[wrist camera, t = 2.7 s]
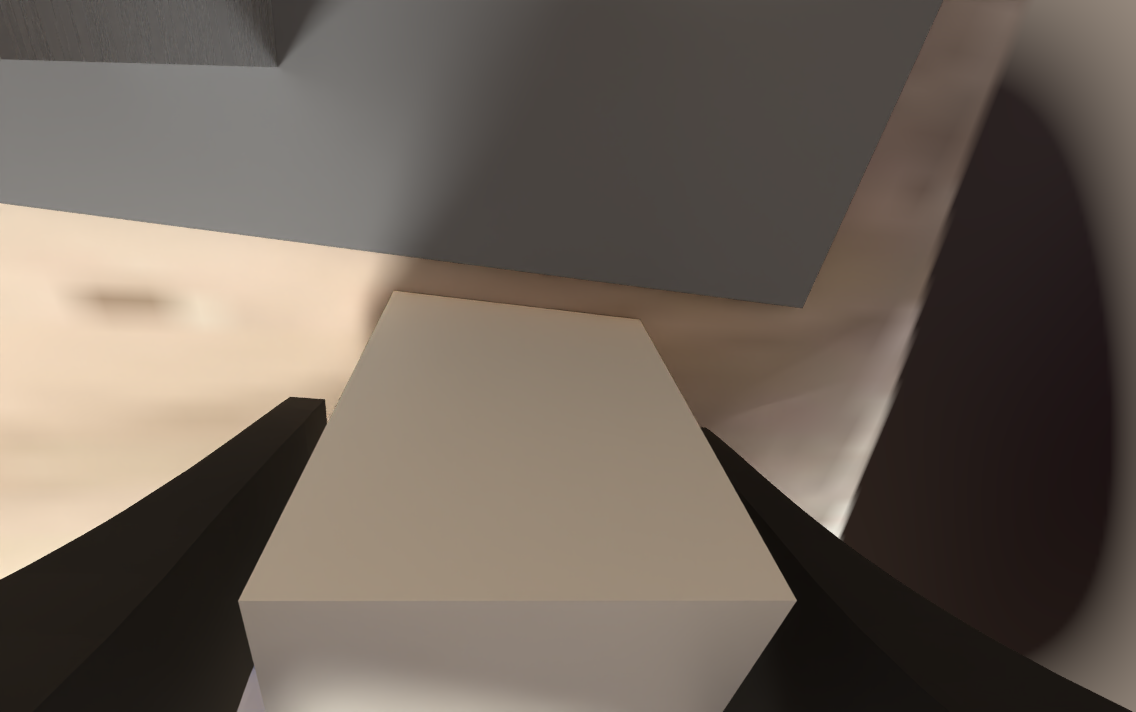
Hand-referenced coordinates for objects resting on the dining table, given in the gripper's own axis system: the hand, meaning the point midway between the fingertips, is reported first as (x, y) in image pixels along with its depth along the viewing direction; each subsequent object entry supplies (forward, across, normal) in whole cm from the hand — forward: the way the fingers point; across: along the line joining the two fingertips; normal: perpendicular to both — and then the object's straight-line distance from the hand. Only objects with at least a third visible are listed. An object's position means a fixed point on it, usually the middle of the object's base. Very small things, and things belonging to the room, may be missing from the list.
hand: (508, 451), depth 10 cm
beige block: (+2, 0, 0) cm, 2 cm away
